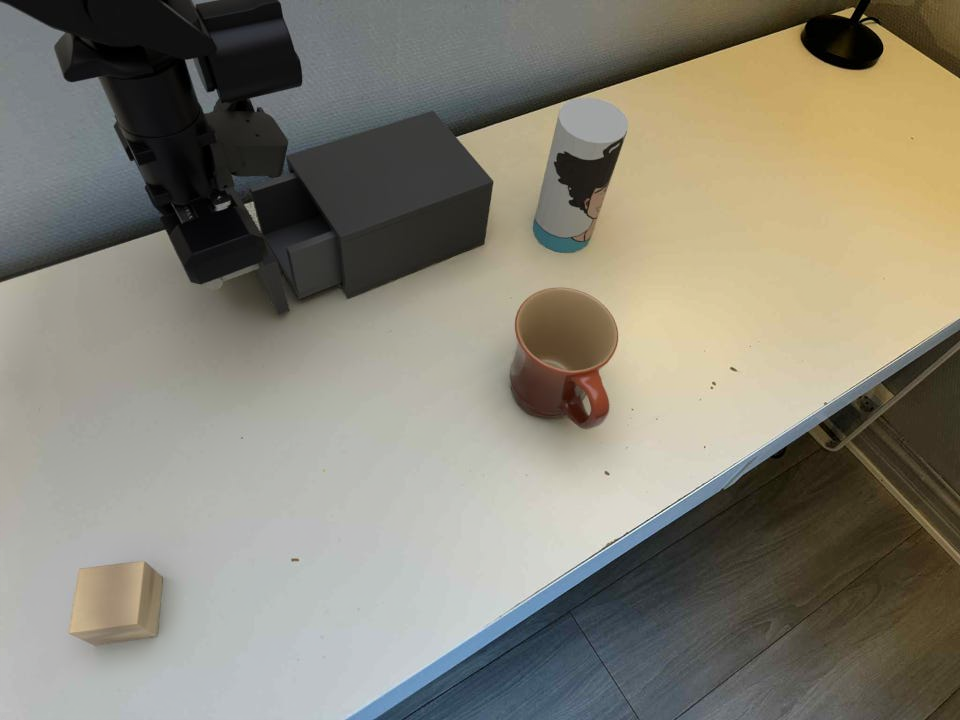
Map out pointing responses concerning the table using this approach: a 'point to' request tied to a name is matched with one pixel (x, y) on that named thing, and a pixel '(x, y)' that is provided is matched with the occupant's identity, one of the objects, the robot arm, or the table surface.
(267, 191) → the drawer
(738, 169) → the table surface
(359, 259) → the cabinet
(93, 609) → the block
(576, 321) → the mug
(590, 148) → the cup
